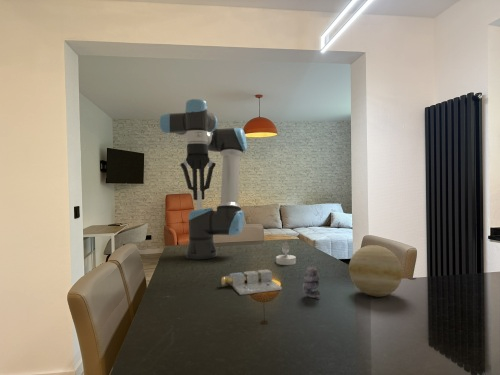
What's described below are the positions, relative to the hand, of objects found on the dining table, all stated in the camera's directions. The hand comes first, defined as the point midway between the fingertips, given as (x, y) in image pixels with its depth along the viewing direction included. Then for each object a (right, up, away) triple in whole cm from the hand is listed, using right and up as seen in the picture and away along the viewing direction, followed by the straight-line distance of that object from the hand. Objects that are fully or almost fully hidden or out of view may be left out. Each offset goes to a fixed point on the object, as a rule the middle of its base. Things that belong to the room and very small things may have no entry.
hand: (199, 208), depth 116 cm
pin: (+17, -25, -7) cm, 31 cm away
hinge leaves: (+19, -25, -6) cm, 32 cm away
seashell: (+37, -25, -21) cm, 49 cm away
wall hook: (+34, -25, +23) cm, 49 cm away
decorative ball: (+56, -25, -20) cm, 65 cm away
